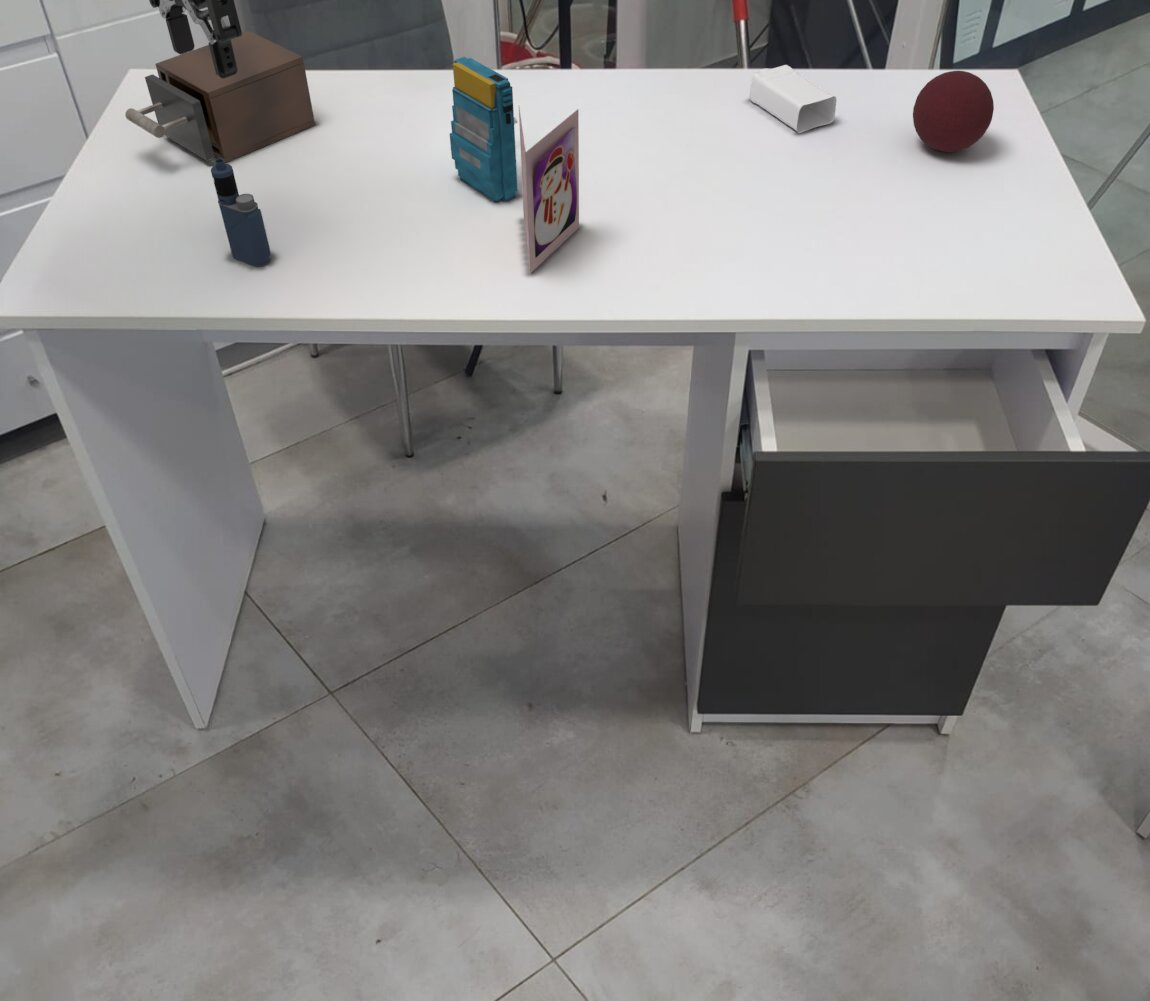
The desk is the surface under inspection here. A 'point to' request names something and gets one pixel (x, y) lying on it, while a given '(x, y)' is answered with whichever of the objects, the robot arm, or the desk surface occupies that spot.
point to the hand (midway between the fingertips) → (206, 63)
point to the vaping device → (240, 218)
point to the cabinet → (248, 93)
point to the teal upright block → (483, 130)
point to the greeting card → (550, 189)
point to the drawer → (178, 116)
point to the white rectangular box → (792, 98)
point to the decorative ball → (953, 111)
